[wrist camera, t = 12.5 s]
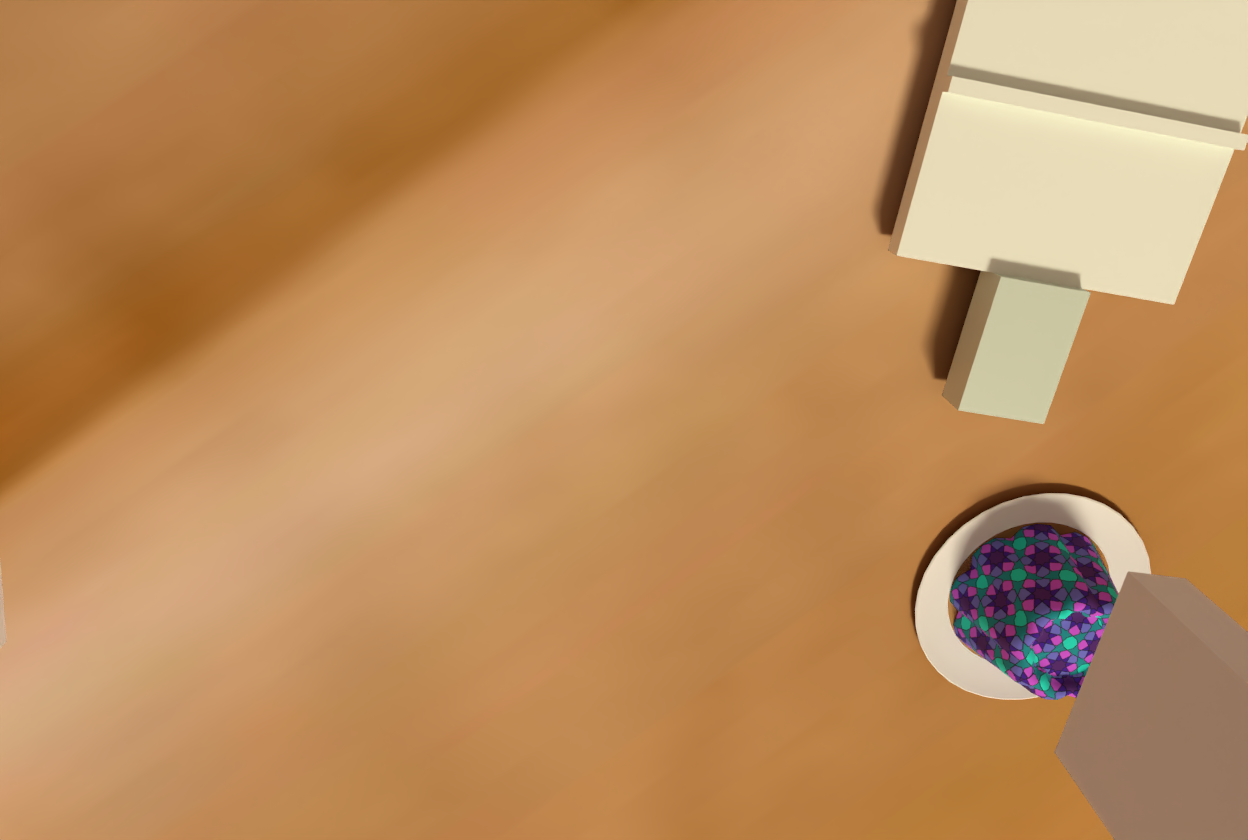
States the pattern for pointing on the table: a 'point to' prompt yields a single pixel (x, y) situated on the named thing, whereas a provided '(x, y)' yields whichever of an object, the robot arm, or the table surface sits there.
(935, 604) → the patterned hat
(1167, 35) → the lid
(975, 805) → the table surface
